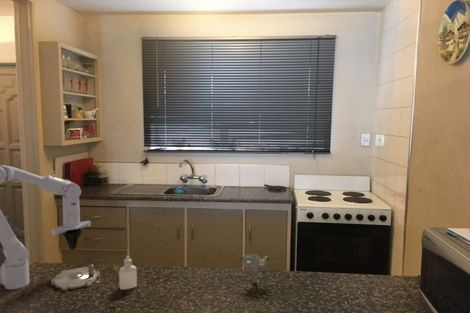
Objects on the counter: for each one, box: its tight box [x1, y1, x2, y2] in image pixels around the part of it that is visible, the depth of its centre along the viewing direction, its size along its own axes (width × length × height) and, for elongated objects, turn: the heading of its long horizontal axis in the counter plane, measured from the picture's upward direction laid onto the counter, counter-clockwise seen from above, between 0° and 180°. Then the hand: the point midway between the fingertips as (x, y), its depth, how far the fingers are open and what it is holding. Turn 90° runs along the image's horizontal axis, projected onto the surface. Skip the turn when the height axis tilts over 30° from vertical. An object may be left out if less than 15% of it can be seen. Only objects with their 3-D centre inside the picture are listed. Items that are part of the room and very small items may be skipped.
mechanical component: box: [240, 253, 270, 284], centre depth 126 cm, size 3×10×10 cm, turn 89°
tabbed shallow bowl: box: [51, 264, 101, 291], centre depth 123 cm, size 14×16×6 cm
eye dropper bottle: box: [118, 255, 138, 290], centre depth 119 cm, size 4×6×12 cm
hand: (72, 248), depth 131 cm, fingers closed
